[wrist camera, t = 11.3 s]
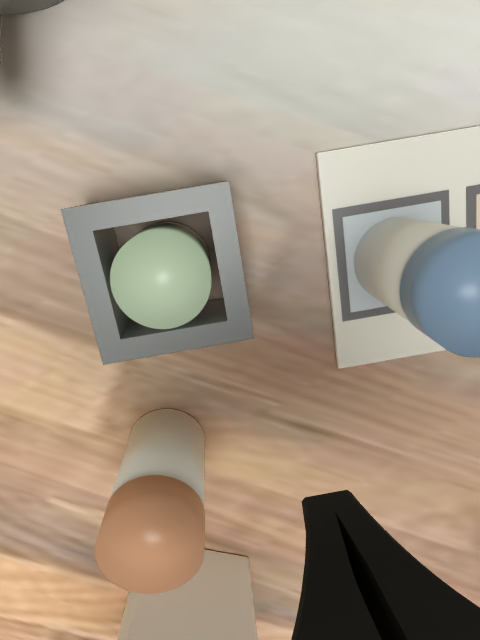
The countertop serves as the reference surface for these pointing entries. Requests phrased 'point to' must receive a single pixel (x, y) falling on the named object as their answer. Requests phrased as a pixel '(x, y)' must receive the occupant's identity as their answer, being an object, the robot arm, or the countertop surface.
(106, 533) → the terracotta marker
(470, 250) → the cylinder
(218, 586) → the milk
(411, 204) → the sheet
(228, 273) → the button housing
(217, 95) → the countertop surface
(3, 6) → the coffee mug
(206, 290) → the button
